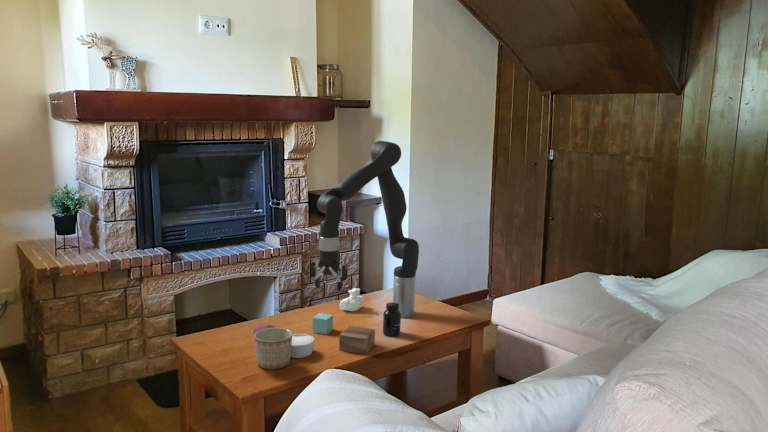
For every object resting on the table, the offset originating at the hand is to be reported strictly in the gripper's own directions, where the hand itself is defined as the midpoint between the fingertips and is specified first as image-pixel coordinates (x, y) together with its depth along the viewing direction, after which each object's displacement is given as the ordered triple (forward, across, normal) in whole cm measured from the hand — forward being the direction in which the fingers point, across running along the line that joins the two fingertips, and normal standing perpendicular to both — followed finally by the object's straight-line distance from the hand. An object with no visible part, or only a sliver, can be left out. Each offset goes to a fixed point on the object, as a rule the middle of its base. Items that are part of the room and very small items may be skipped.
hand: (328, 289), depth 230 cm
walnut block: (+18, -15, +8) cm, 25 cm away
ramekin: (+18, +3, +21) cm, 28 cm away
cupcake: (+18, +19, +16) cm, 31 cm away
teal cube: (+18, +3, -2) cm, 18 cm away
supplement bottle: (+18, -23, -9) cm, 30 cm away
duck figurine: (+18, 0, -29) cm, 34 cm away
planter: (+18, +7, +32) cm, 37 cm away
